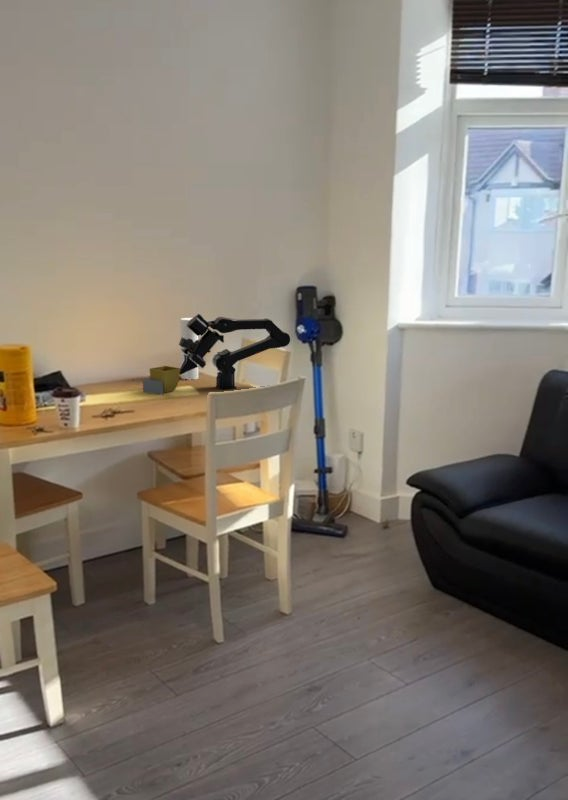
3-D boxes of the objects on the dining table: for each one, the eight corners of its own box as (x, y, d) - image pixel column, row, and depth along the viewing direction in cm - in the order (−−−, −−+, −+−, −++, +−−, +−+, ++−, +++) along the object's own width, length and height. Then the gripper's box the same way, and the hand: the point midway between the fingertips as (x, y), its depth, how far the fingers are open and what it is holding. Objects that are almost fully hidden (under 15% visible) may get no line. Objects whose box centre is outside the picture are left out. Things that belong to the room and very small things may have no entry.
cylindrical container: (179, 379, 323) (178, 319, 317) (184, 375, 330) (183, 317, 324) (195, 380, 322) (195, 320, 316) (200, 376, 329) (199, 318, 323)
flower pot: (181, 390, 302) (180, 368, 300) (164, 394, 295) (164, 371, 293) (166, 387, 307) (165, 365, 305) (149, 391, 301) (148, 368, 299)
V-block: (158, 387, 307) (158, 375, 305) (163, 394, 295) (163, 381, 294) (141, 388, 304) (140, 376, 303) (145, 395, 293) (145, 382, 292)
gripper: (185, 326, 308) (159, 356, 307) (195, 333, 290) (168, 364, 290) (206, 344, 312) (180, 373, 311) (217, 352, 295) (190, 383, 294)
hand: (179, 373), depth 301 cm, fingers closed
